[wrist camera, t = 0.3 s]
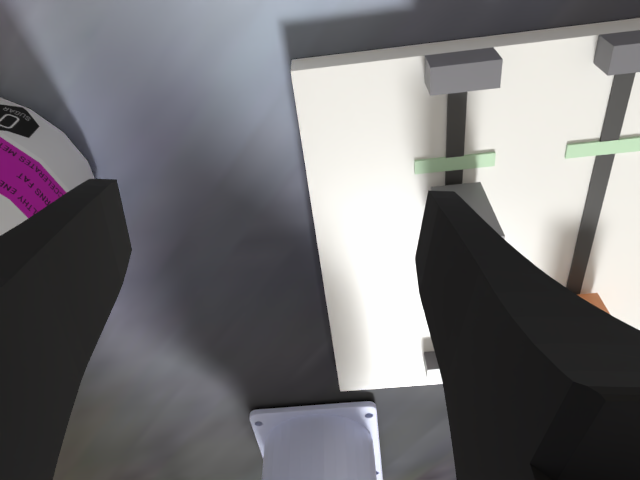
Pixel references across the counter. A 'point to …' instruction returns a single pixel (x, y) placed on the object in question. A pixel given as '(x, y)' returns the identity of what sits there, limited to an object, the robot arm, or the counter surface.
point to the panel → (469, 174)
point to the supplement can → (34, 164)
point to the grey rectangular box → (475, 201)
